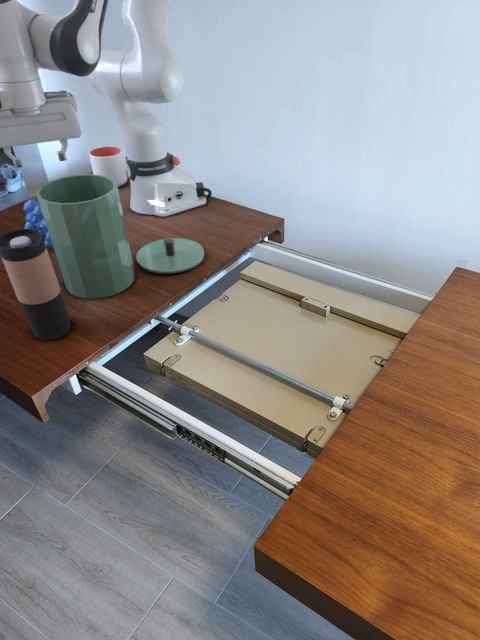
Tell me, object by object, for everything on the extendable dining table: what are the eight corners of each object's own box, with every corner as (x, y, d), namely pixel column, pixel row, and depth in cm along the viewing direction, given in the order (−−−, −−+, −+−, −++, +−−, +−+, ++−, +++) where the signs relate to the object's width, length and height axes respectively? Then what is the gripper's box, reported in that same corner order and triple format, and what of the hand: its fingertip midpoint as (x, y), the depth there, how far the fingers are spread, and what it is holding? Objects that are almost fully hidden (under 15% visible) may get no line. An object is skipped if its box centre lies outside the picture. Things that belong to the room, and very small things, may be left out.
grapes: (21, 244, 121) (4, 199, 114) (45, 235, 125) (31, 191, 117) (43, 260, 115) (27, 213, 108) (68, 250, 119) (55, 204, 111)
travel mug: (31, 322, 96) (-5, 232, 83) (70, 314, 99) (41, 225, 86) (32, 344, 91) (-6, 252, 78) (73, 335, 93) (43, 244, 80)
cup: (120, 190, 148) (113, 158, 141) (90, 188, 149) (82, 155, 143) (132, 179, 155) (127, 147, 149) (104, 176, 157) (98, 145, 150)
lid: (190, 237, 125) (188, 220, 122) (215, 265, 114) (213, 248, 111) (129, 251, 119) (125, 233, 116) (148, 282, 108) (145, 264, 105)
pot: (124, 256, 117) (105, 169, 103) (143, 287, 106) (125, 194, 92) (60, 272, 111) (31, 182, 97) (73, 305, 101) (42, 210, 87)
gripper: (70, 86, 102) (85, 152, 111) (-35, 96, 95) (-10, 166, 104) (76, 92, 98) (91, 160, 107) (-33, 103, 90) (-7, 175, 99)
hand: (41, 163), depth 105 cm, fingers open, 8 cm apart
